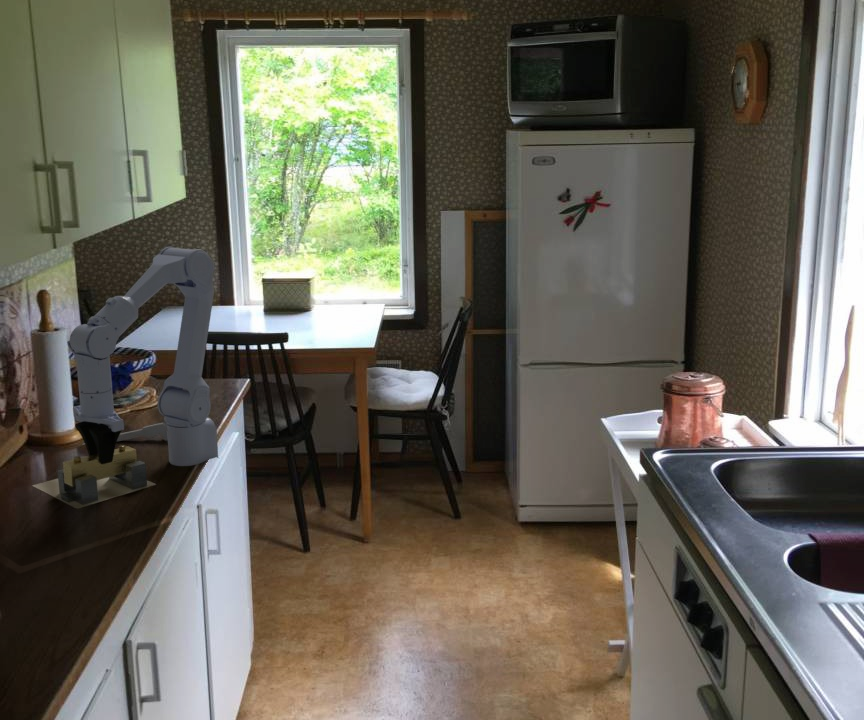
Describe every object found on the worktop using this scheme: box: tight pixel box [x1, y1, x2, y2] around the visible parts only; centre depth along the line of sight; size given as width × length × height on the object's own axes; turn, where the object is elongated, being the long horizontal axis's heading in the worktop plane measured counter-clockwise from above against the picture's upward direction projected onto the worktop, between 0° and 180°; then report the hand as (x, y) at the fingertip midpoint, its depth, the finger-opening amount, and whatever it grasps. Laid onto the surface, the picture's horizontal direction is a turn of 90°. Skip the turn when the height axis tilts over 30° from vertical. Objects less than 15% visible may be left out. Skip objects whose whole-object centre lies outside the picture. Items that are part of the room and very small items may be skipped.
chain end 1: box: [56, 468, 98, 505], centre depth 165 cm, size 4×8×4 cm, turn 49°
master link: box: [62, 444, 138, 487], centre depth 169 cm, size 13×3×5 cm, turn 139°
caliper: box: [81, 418, 168, 446], centre depth 198 cm, size 20×1×6 cm, turn 97°
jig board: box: [31, 477, 157, 510], centre depth 172 cm, size 16×17×1 cm
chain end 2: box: [109, 460, 148, 490], centre depth 173 cm, size 4×8×4 cm, turn 49°
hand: (101, 460), depth 169 cm, fingers closed on master link, 3 cm apart
